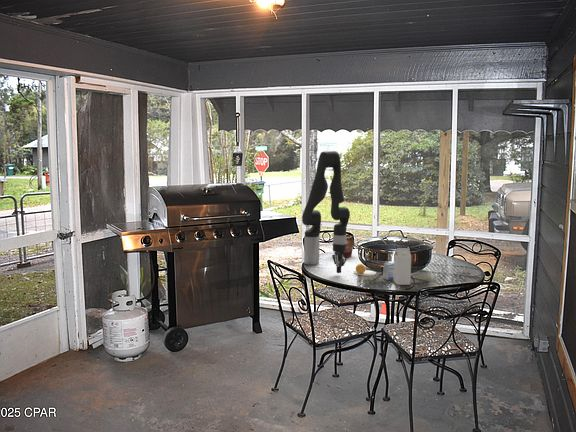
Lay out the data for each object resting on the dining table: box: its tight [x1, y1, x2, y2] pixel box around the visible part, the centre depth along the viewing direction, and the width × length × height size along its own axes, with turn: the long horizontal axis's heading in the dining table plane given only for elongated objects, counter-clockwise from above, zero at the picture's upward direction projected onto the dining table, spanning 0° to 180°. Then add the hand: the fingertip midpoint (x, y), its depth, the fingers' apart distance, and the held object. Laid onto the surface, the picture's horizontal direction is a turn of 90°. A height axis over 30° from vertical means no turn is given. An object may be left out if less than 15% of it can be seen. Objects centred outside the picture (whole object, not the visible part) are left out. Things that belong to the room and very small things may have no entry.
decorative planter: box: [344, 234, 355, 258], centre depth 334 cm, size 20×12×14 cm, turn 159°
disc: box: [353, 269, 377, 277], centre depth 289 cm, size 13×13×1 cm
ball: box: [355, 263, 367, 274], centre depth 287 cm, size 6×6×6 cm
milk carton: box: [392, 247, 412, 286], centre depth 266 cm, size 7×7×19 cm
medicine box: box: [382, 262, 394, 281], centre depth 276 cm, size 8×4×9 cm, turn 118°
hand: (338, 272), depth 282 cm, fingers closed
